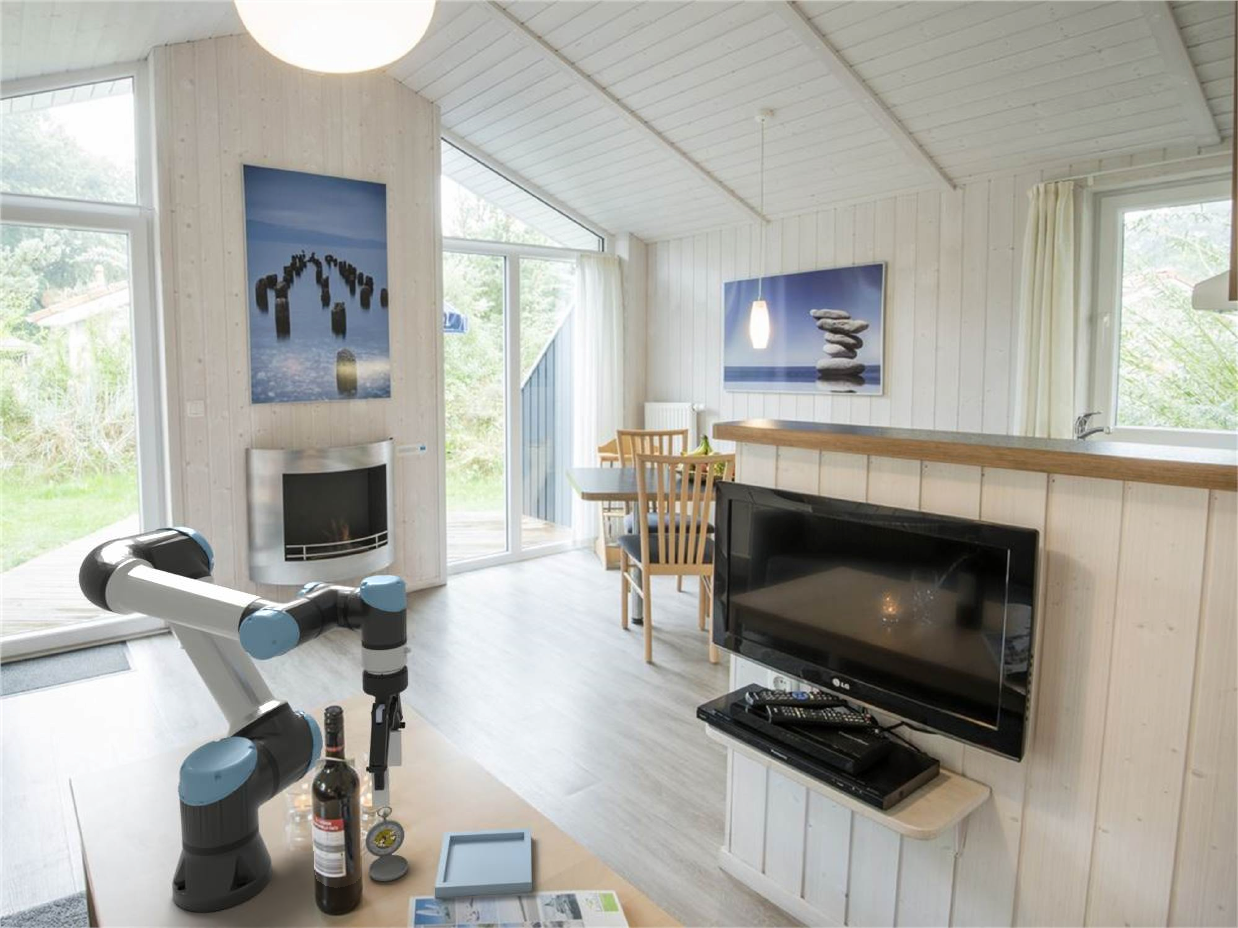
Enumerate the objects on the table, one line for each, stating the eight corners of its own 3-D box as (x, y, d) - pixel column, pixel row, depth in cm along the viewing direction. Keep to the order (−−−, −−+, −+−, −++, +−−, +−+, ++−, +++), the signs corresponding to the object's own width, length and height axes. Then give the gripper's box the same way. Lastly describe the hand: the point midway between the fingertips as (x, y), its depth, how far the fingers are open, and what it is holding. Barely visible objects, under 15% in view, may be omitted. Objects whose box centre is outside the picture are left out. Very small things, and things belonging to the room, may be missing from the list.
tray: (434, 897, 134) (434, 887, 134) (444, 841, 150) (444, 832, 150) (531, 891, 136) (531, 881, 136) (530, 836, 152) (530, 827, 152)
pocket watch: (387, 888, 137) (386, 832, 135) (353, 870, 141) (352, 817, 140) (422, 863, 143) (422, 810, 142) (389, 847, 148) (388, 796, 147)
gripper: (396, 695, 126) (399, 823, 128) (417, 641, 150) (419, 749, 153) (346, 697, 125) (350, 825, 128) (375, 642, 150) (378, 751, 152)
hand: (387, 784), depth 140 cm, fingers open, 13 cm apart
